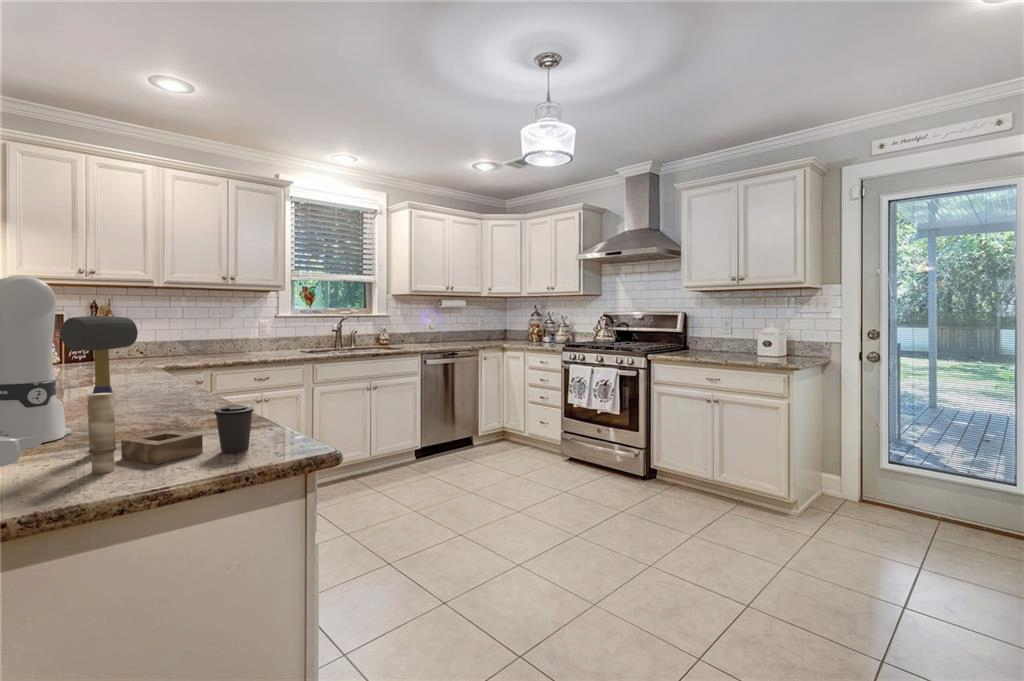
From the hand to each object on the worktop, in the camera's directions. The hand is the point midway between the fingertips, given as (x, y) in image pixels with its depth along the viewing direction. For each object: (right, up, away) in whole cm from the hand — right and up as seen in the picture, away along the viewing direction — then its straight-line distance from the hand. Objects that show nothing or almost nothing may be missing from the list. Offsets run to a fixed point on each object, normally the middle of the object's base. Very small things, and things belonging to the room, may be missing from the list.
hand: (22, 437), depth 89 cm
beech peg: (+4, -9, +12) cm, 15 cm away
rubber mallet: (-6, -8, +26) cm, 28 cm away
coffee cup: (+21, -8, +28) cm, 36 cm away
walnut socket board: (+8, -8, +23) cm, 26 cm away
